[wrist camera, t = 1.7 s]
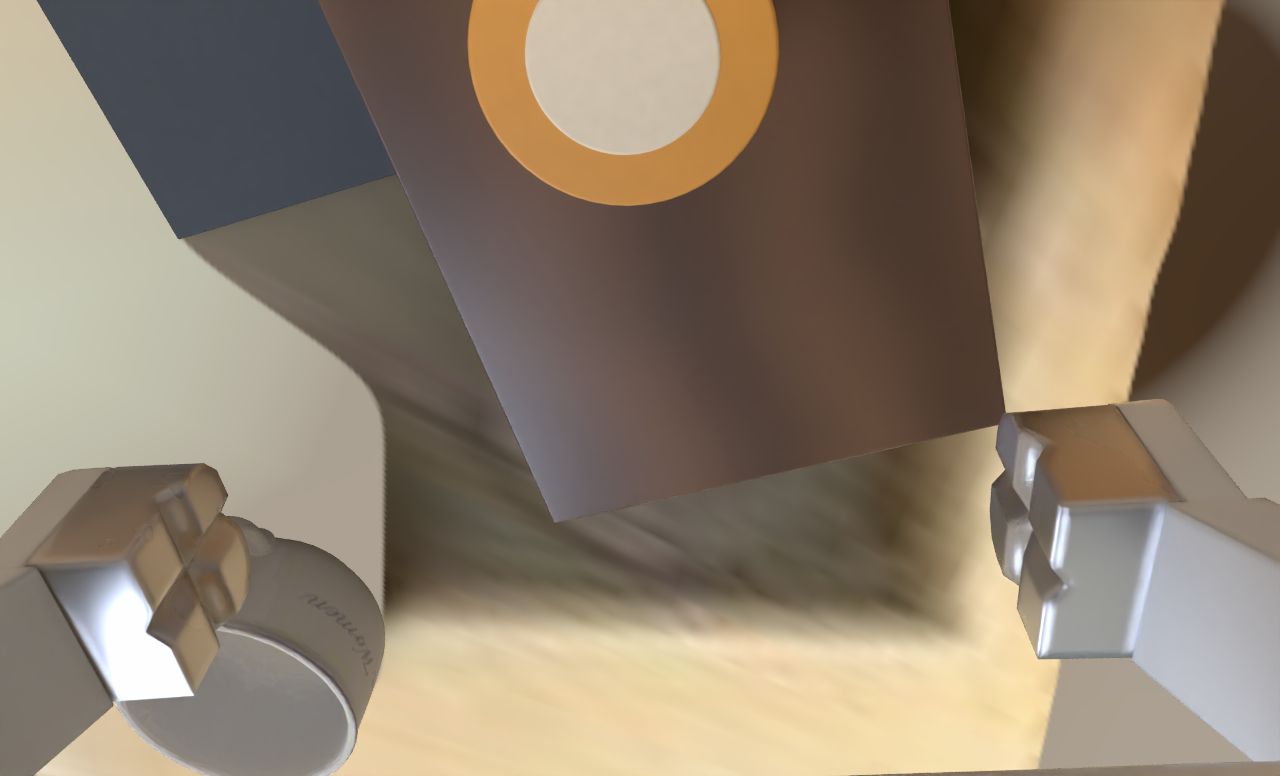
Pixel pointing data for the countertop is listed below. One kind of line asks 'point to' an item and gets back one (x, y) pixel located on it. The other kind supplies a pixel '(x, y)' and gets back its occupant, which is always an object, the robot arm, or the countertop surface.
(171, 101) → the mat
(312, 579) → the teacup
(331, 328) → the countertop surface
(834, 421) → the shelf
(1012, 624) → the countertop surface
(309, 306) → the countertop surface
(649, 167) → the tape roll
